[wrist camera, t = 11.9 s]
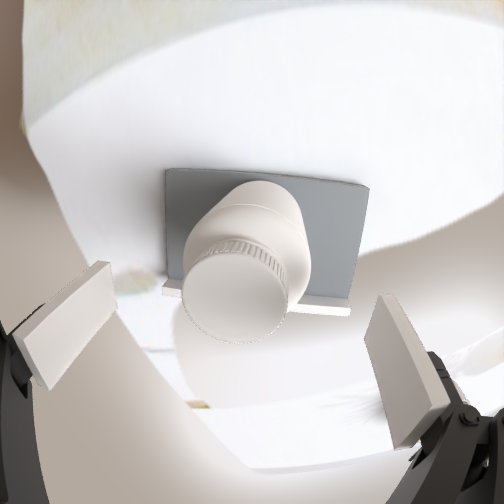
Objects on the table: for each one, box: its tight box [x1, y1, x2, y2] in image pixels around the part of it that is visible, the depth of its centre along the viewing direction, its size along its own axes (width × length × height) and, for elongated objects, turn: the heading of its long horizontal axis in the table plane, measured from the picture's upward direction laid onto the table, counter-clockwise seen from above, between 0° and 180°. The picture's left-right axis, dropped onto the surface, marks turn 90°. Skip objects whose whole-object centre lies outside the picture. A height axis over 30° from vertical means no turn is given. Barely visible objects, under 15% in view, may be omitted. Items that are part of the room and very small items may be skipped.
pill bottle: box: [181, 181, 311, 344], centre depth 20 cm, size 8×8×15 cm
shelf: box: [162, 168, 370, 316], centre depth 28 cm, size 14×20×4 cm
